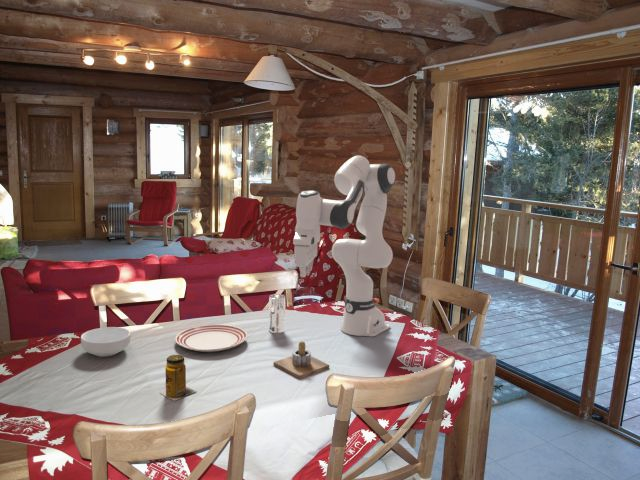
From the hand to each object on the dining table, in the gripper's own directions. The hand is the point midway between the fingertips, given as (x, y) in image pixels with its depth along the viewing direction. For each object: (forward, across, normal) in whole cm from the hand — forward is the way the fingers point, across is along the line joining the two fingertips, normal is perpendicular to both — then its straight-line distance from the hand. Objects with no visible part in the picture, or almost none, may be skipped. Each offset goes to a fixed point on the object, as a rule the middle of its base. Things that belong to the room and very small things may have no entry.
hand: (306, 273), depth 196 cm
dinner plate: (+32, 0, -37) cm, 48 cm away
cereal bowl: (+31, +20, -69) cm, 78 cm away
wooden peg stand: (+31, +11, +2) cm, 33 cm away
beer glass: (+31, -20, -16) cm, 41 cm away
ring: (+30, +11, +2) cm, 32 cm away
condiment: (+31, +41, -30) cm, 60 cm away
